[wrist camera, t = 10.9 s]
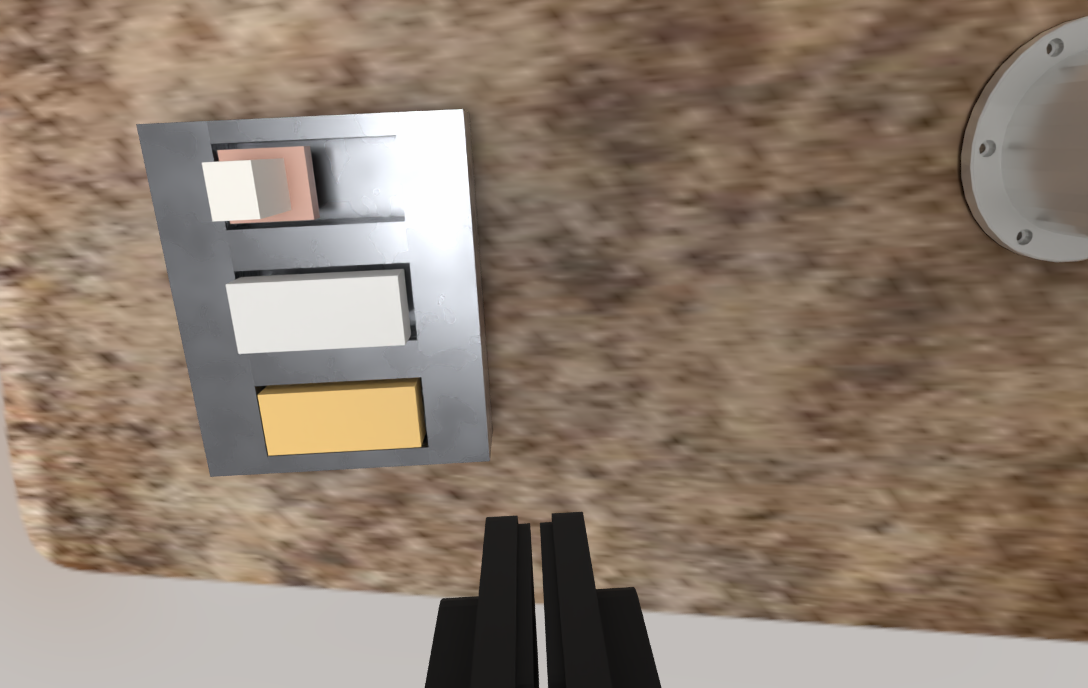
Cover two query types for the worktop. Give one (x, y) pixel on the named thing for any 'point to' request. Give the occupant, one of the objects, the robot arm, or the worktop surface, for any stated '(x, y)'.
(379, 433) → the amber button
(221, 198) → the slider lever
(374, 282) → the white button
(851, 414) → the worktop surface
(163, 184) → the control panel
